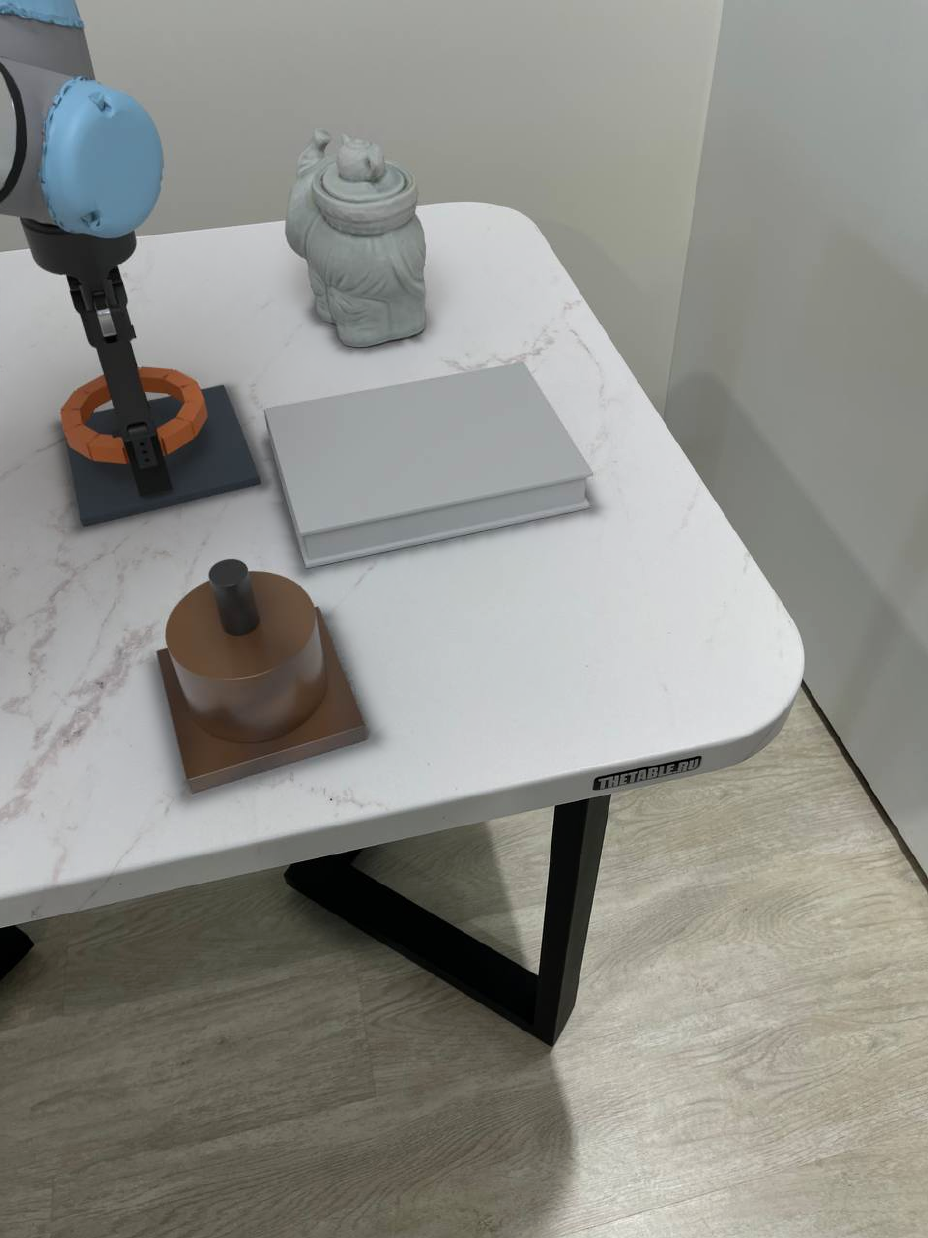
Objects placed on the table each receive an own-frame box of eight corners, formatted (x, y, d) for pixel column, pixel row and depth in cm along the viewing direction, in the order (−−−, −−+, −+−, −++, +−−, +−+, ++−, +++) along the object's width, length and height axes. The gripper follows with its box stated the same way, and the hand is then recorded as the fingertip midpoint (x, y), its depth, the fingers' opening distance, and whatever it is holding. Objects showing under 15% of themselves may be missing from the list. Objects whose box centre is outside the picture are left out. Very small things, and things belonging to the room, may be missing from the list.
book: (593, 472, 82) (299, 532, 77) (589, 508, 85) (305, 569, 80) (519, 354, 94) (261, 400, 89) (518, 389, 97) (268, 436, 92)
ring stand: (191, 794, 66) (144, 669, 57) (160, 664, 73) (114, 535, 64) (368, 739, 68) (350, 611, 59) (320, 619, 76) (298, 490, 67)
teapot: (315, 269, 113) (292, 89, 100) (448, 278, 111) (443, 96, 98) (272, 348, 102) (239, 159, 88) (419, 360, 100) (408, 168, 87)
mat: (83, 526, 84) (80, 519, 83) (64, 426, 93) (61, 419, 93) (261, 483, 87) (259, 476, 87) (225, 391, 97) (223, 384, 96)
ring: (74, 476, 81) (68, 460, 80) (60, 399, 89) (54, 383, 87) (218, 444, 84) (214, 428, 83) (192, 371, 91) (188, 356, 90)
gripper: (150, 267, 66) (214, 522, 81) (103, 133, 81) (165, 369, 97) (31, 289, 64) (120, 545, 80) (6, 148, 79) (84, 385, 95)
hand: (144, 448), depth 88 cm, fingers closed on ring, 11 cm apart
